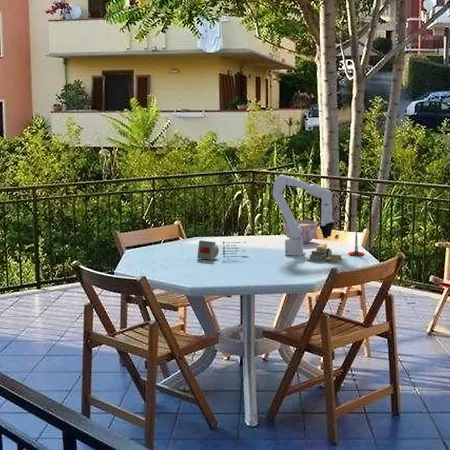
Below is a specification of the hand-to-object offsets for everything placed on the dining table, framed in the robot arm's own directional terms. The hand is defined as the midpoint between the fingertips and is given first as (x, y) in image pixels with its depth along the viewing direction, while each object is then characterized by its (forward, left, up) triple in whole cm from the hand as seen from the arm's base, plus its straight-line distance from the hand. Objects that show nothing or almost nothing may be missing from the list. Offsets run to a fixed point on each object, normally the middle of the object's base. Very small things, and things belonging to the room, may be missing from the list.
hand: (326, 237), depth 427 cm
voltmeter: (-50, -28, -10) cm, 58 cm away
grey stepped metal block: (0, -12, -9) cm, 15 cm away
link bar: (0, -10, -6) cm, 12 cm away
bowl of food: (-25, +32, -10) cm, 42 cm away
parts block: (+8, -16, -9) cm, 20 cm away
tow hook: (+15, +4, -10) cm, 18 cm away
